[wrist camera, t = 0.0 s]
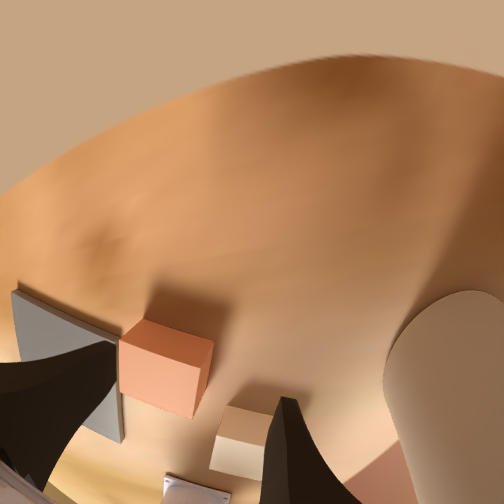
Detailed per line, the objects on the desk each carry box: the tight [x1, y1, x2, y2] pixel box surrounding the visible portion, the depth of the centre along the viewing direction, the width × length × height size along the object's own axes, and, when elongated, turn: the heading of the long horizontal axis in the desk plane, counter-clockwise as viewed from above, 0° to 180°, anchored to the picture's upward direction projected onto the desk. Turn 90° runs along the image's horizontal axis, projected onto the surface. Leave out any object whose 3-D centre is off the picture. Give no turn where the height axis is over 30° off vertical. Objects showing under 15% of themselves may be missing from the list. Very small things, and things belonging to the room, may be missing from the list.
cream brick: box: [209, 405, 273, 481], centre depth 22 cm, size 5×6×4 cm
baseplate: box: [11, 289, 124, 444], centre depth 25 cm, size 14×14×1 cm
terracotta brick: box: [119, 319, 215, 419], centre depth 21 cm, size 5×6×4 cm
